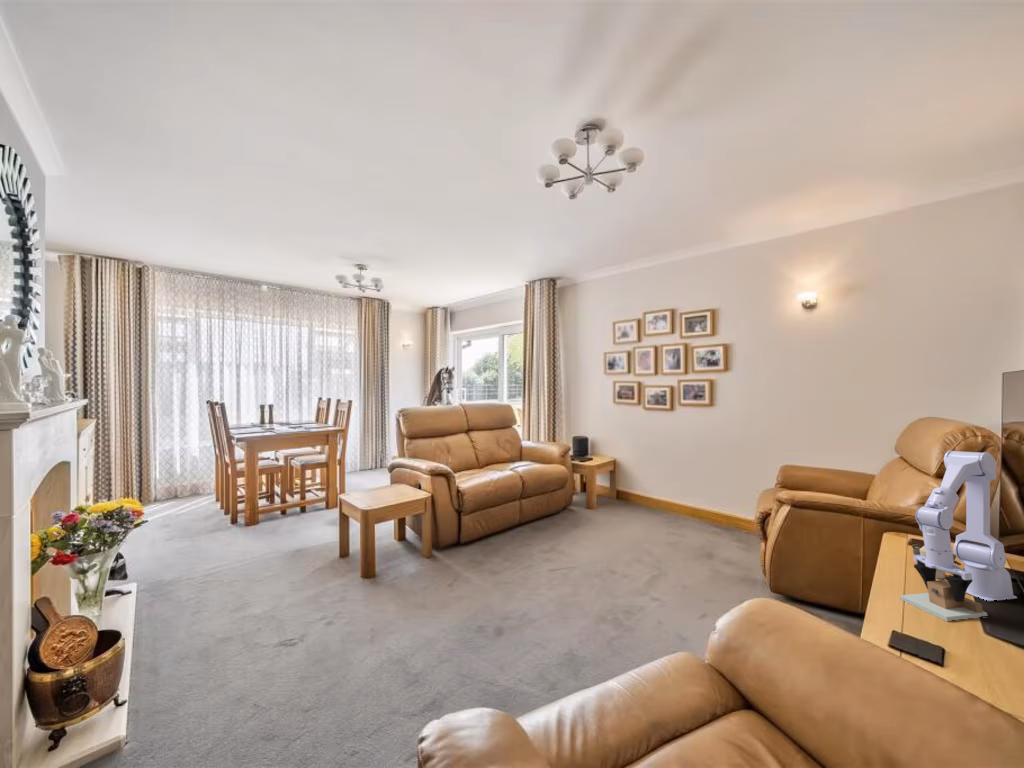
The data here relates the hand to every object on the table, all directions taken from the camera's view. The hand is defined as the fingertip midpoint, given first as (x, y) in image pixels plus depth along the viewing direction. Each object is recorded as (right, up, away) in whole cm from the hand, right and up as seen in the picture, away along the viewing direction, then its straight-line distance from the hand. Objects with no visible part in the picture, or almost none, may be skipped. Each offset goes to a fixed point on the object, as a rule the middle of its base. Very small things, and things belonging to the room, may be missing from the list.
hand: (945, 595), depth 122 cm
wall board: (-1, -4, 0) cm, 4 cm away
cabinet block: (0, -3, 0) cm, 3 cm away
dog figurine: (+25, -4, +27) cm, 37 cm away
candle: (+18, -4, +20) cm, 27 cm away
